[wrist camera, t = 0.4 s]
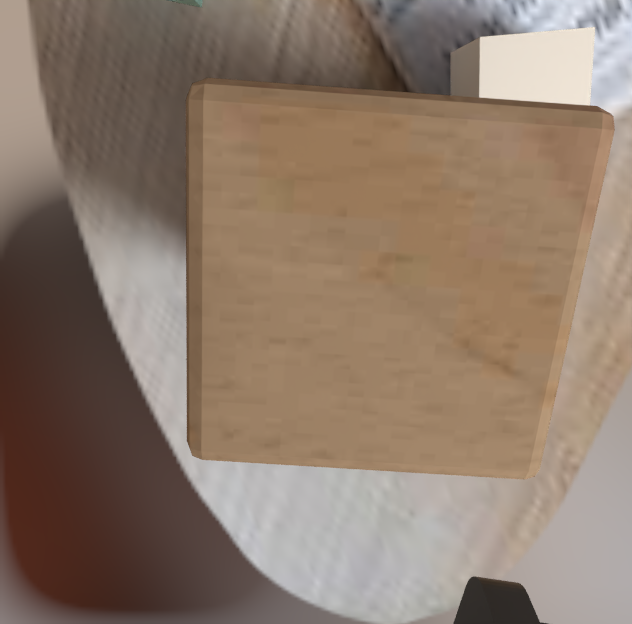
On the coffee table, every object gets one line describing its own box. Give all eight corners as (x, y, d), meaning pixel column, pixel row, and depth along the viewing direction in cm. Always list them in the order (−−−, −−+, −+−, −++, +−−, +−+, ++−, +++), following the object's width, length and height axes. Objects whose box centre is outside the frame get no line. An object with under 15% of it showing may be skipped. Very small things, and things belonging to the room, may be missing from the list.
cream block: (450, 52, 31) (479, 36, 25) (543, 45, 31) (595, 27, 25) (450, 149, 32) (478, 154, 27) (539, 142, 32) (587, 146, 26)
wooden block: (263, 103, 32) (180, 74, 13) (443, 116, 32) (629, 106, 13) (257, 278, 35) (182, 466, 16) (420, 289, 35) (543, 488, 16)
